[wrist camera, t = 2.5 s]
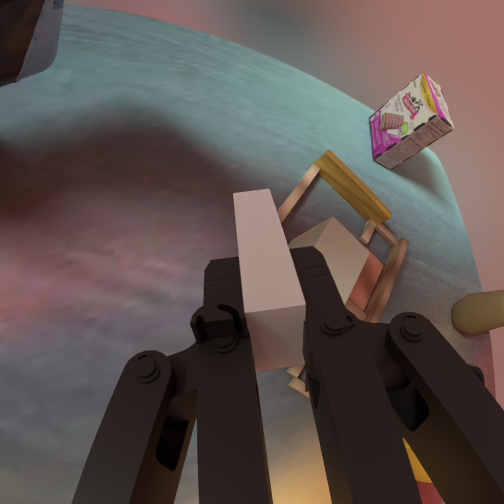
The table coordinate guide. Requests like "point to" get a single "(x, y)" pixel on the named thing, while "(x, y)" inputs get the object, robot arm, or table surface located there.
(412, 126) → the candy bar box
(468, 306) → the squeeze bottle
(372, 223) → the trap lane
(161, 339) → the table surface
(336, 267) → the brick
